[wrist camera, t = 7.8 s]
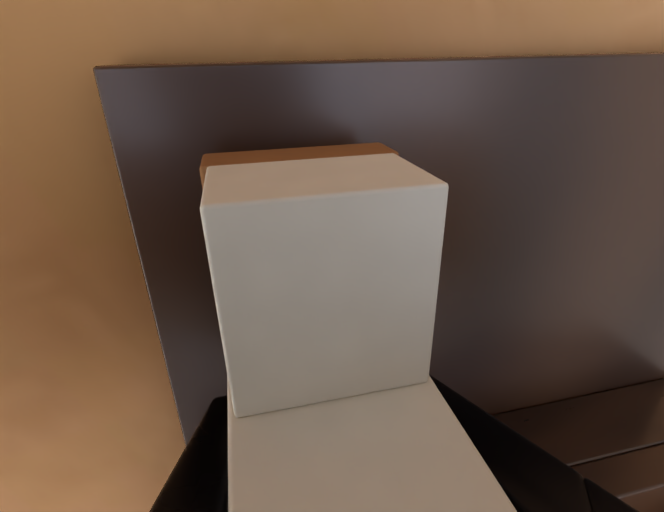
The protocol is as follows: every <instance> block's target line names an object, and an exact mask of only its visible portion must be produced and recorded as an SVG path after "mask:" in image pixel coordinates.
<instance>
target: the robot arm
mask: <svg viewBox="0 0 664 512" xmlns="http://www.w3.org/2000/svg"><path fill="white" fill-rule="evenodd" d="M429 376H430V377H431V379H432V381H433V382H434V384H435V385H436V387H437V388H438V390H439V391H440V393H441V394H442V396H443V398H444V399H445V401H446V402H447V404H448V405H449V407H450V408H451V410H452V412H453V413H454V415H455V416H456V418H457V419H458V421H459V422H460V424H461V425H462V427H463V429H464V430H465V432H466V433H467V435H468V436H469V438H470V439H471V441H472V443H473V444H474V446H475V447H476V449H477V450H478V452H479V453H480V455H481V456H482V458H483V460H484V461H485V463H486V464H487V466H488V467H489V469H490V470H491V472H492V474H493V475H494V477H495V478H496V480H497V481H498V483H499V484H500V486H501V487H502V489H503V491H504V492H505V494H506V495H507V497H508V498H509V500H510V501H511V503H512V505H513V506H514V508H515V509H516V511H517V512H640V511H638V510H636V509H635V508H633V507H632V506H630V505H628V504H627V503H625V502H624V501H622V500H621V499H619V498H617V497H616V496H614V495H613V494H611V493H610V492H608V491H607V490H605V489H603V488H602V487H600V486H599V485H597V484H596V483H594V482H593V481H591V480H590V479H588V478H584V479H583V476H582V475H581V474H580V473H579V472H577V471H576V470H574V469H573V468H571V467H570V466H568V465H567V464H565V463H564V462H562V461H561V460H559V459H557V458H556V457H554V456H553V455H551V454H550V453H548V452H547V451H545V450H544V449H542V448H541V447H539V446H538V445H536V444H535V443H533V442H532V441H530V440H529V439H527V438H525V437H524V436H522V435H521V434H519V433H518V432H516V431H515V430H513V429H512V428H510V427H509V426H507V425H506V424H504V423H503V422H501V421H500V420H498V419H497V418H495V417H494V416H492V415H490V414H489V413H487V412H486V411H484V410H483V409H481V408H480V407H478V406H477V405H475V404H474V403H472V402H471V401H469V400H468V399H466V398H465V397H463V396H462V395H460V394H458V393H457V392H455V391H454V390H452V389H451V388H449V387H448V386H446V385H445V384H443V383H442V382H440V381H439V380H437V379H436V378H434V377H433V376H431V375H430V374H429ZM150 512H228V399H227V395H225V396H220V397H216V398H214V399H213V400H212V402H211V403H210V405H209V407H208V409H207V410H206V412H205V414H204V416H203V417H202V419H201V421H200V423H199V425H198V426H197V428H196V430H195V432H194V433H193V435H192V437H191V439H190V441H189V442H188V444H187V446H186V448H185V449H184V451H183V453H182V455H181V457H180V458H179V460H178V462H177V464H176V466H175V467H174V469H173V471H172V473H171V474H170V476H169V478H168V480H167V482H166V483H165V485H164V487H163V489H162V490H161V492H160V494H159V496H158V498H157V499H156V501H155V503H154V505H153V506H152V508H151V510H150Z"/></svg>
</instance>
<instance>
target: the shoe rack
mask: <svg viewBox="0 0 664 512" xmlns="http://www.w3.org/2000/svg"><path fill="white" fill-rule="evenodd" d="M93 72H94V76H95V80H96V84H97V88H98V92H99V96H100V100H101V104H102V108H103V112H104V116H105V120H106V124H107V128H108V132H109V136H110V140H111V145H112V149H113V153H114V157H115V161H116V165H117V169H118V173H119V177H120V181H121V185H122V189H123V193H124V197H125V201H126V205H127V209H128V213H129V217H130V222H131V226H132V230H133V234H134V238H135V242H136V246H137V250H138V254H139V258H140V262H141V266H142V270H143V274H144V278H145V282H146V286H147V290H148V294H149V299H150V303H151V307H152V311H153V315H154V319H155V323H156V327H157V331H158V335H159V339H160V343H161V347H162V351H163V355H164V359H165V363H166V367H167V371H168V376H169V380H170V384H171V388H172V392H173V396H174V400H175V404H176V408H177V412H178V416H179V420H180V424H181V428H182V432H183V436H184V440H185V444H186V446H187V444H188V442H189V441H190V439H191V437H192V435H193V433H194V432H195V430H196V428H197V426H198V425H199V423H200V421H201V419H202V417H203V416H204V414H205V412H206V410H207V409H208V407H209V405H210V403H211V402H212V400H213V399H214V398H216V397H220V396H225V395H227V369H226V363H225V357H224V351H223V345H222V339H221V333H220V327H219V321H218V316H217V310H216V304H215V298H214V292H213V286H212V280H211V274H210V268H209V262H208V256H207V250H206V244H205V238H204V232H203V226H202V220H201V214H200V204H201V198H202V192H203V189H202V183H201V177H200V170H199V169H200V165H201V160H202V156H203V155H204V154H209V153H224V152H239V151H254V150H270V149H285V148H300V147H315V146H331V145H346V144H361V143H376V142H379V143H382V144H384V145H386V146H387V147H389V148H391V149H393V150H395V151H397V152H398V154H399V157H401V158H403V159H405V160H407V161H408V162H410V163H412V164H414V165H415V166H417V167H419V168H421V169H423V170H424V171H426V172H428V173H430V174H432V175H433V176H435V177H437V178H439V179H441V180H442V181H444V182H446V183H447V184H448V187H449V189H448V198H447V208H446V217H445V227H444V236H443V246H442V255H441V265H440V274H439V284H438V293H437V303H436V312H435V322H434V331H433V341H432V350H431V360H430V369H429V374H430V375H431V376H433V377H434V378H436V379H437V380H439V381H440V382H442V383H443V384H445V385H446V386H448V387H449V388H451V389H452V390H454V391H455V392H457V393H458V394H460V395H462V396H463V397H465V398H466V399H468V400H469V401H471V402H472V403H474V404H475V405H477V406H478V407H480V408H481V409H483V410H484V411H486V412H487V413H489V414H490V415H492V416H494V417H495V418H497V419H498V420H500V421H501V422H503V423H504V424H506V425H507V426H509V427H510V428H512V429H513V430H515V431H516V432H518V433H519V434H521V435H522V436H524V437H525V438H527V439H529V440H530V441H532V442H533V443H535V444H536V445H538V446H539V447H541V448H542V449H544V450H545V451H547V452H548V453H550V454H551V455H553V456H554V457H556V458H557V459H559V460H561V461H562V462H564V463H565V464H567V465H568V466H570V467H571V468H573V469H574V470H576V471H577V472H579V473H580V474H581V475H582V476H583V479H584V478H588V479H590V480H591V481H593V482H594V483H596V484H597V485H599V486H600V487H602V488H603V489H605V490H607V491H608V492H610V493H611V494H613V495H614V496H616V497H617V498H619V499H621V500H622V501H624V502H625V503H627V504H628V505H630V506H632V507H633V508H635V509H636V510H638V511H640V512H664V53H621V54H578V55H534V56H491V57H448V58H404V59H361V60H318V61H274V62H231V63H187V64H144V65H108V66H95V67H94V68H93Z"/></svg>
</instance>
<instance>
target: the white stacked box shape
mask: <svg viewBox="0 0 664 512" xmlns="http://www.w3.org/2000/svg"><path fill="white" fill-rule="evenodd" d="M199 170H200V177H201V183H202V189H203V192H202V198H201V204H200V214H201V220H202V226H203V232H204V238H205V244H206V250H207V256H208V262H209V268H210V274H211V280H212V286H213V292H214V298H215V304H216V310H217V316H218V321H219V327H220V333H221V339H222V345H223V351H224V357H225V363H226V369H227V399H228V512H517V511H516V509H515V508H514V506H513V505H512V503H511V501H510V500H509V498H508V497H507V495H506V494H505V492H504V491H503V489H502V487H501V486H500V484H499V483H498V481H497V480H496V478H495V477H494V475H493V474H492V472H491V470H490V469H489V467H488V466H487V464H486V463H485V461H484V460H483V458H482V456H481V455H480V453H479V452H478V450H477V449H476V447H475V446H474V444H473V443H472V441H471V439H470V438H469V436H468V435H467V433H466V432H465V430H464V429H463V427H462V425H461V424H460V422H459V421H458V419H457V418H456V416H455V415H454V413H453V412H452V410H451V408H450V407H449V405H448V404H447V402H446V401H445V399H444V398H443V396H442V394H441V393H440V391H439V390H438V388H437V387H436V385H435V384H434V382H433V381H432V379H431V377H430V376H429V369H430V360H431V350H432V341H433V331H434V322H435V312H436V303H437V293H438V284H439V274H440V265H441V255H442V246H443V236H444V227H445V217H446V208H447V198H448V189H449V187H448V184H447V183H446V182H444V181H442V180H441V179H439V178H437V177H435V176H433V175H432V174H430V173H428V172H426V171H424V170H423V169H421V168H419V167H417V166H415V165H414V164H412V163H410V162H408V161H407V160H405V159H403V158H401V157H399V154H398V152H397V151H395V150H393V149H391V148H389V147H387V146H386V145H384V144H382V143H379V142H376V143H361V144H346V145H331V146H315V147H300V148H285V149H270V150H254V151H239V152H224V153H209V154H204V155H203V156H202V160H201V165H200V169H199Z"/></svg>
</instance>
